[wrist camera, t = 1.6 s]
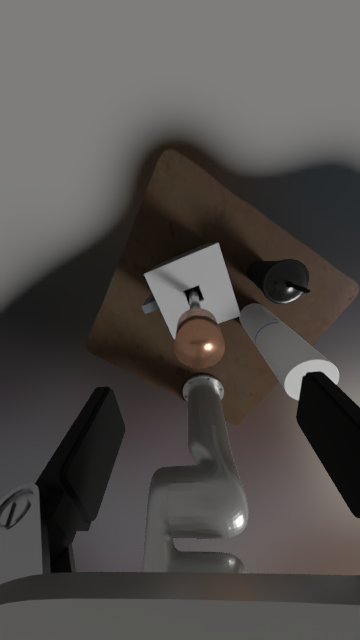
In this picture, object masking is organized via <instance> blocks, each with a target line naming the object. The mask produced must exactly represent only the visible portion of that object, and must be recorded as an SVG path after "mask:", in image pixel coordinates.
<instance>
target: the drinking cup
mask: <svg viewBox="0 0 360 640" xmlns="http://www.w3.org/2000/svg"><path fill="white" fill-rule="evenodd" d="M248 276H249V278H250V279H251V280H252V281H253V282H254V283H255V284H256V285H257V286H258V287H259V288H260V290H261V291H262V292H263V293H264V295H265V297H266V298H267V299H268V300H270V301H271V302H274V303H277V304H286V303H290V302H292V301H294V300H296V299H297V298H299V297H300V296H301V295H302V294H303V293H306V294H308V293H310V289H307V286H308V282H309V273H308V270H307V268H306V266H305V265H304V264H303V263H302V262H300V261H298V260H294V259H285V260H281V261H258V262H255V263H253V264H252V265H251V266H250V268H249V270H248Z"/></svg>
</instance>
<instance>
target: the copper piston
mask: <svg viewBox="0 0 360 640" xmlns="http://www.w3.org/2000/svg"><path fill="white" fill-rule="evenodd" d="M184 292H185V295H186V297H187V300H188V302H189V303H190V310H187V311H186V312H184V313H183V314H182V315H181V317H180V318H179V320H178V323H177V330H176V338H175V346H174V348H175V353H176V356H177V357H178V359H179V360H180V361H181V362H182V363H183V364H185V365H186V366H188V367H191V368H197V369H202V368H207V367H210V366H212V365H214V364H216V363H217V362H218V361H219V360H220V359H221V357H222V356H223V354H224V350H225V342H224V339H223V336H222V334H221V331H220V328H219V326H218V323H217V320H216V318H215V316H214V315H213V314H212V313H211V312H209V311H208V310H206V309H202V308H201V307H200V302H199V300H200V299H203V295H202V293H201V290H200V287H199V285H198V286H195V287H193V288H190V289H187V290H185V291H184Z"/></svg>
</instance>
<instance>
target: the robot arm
mask: <svg viewBox="0 0 360 640" xmlns="http://www.w3.org/2000/svg"><path fill="white" fill-rule="evenodd" d="M223 395H224V389H223V386H222V384H221V382H220V381H219V380H218V379H217V378H215V377H213V376H210V375H205V374H202V375H196V376H193V377H191V378H190V379H188V380H187V381H186V383H185V384H184V386H183V397H184V399H185V400H186V402H188V448H189V452H190V454H191V456H192V458H193V460H194V461H195V462H196V464H197V465H186V466H166V467H161V468H159V469H157V470H156V471H155V472H154V474H153V476H152V478H151V482H150V487H149V494H148V504H147V517H146V531H145V543H144V555H143V568H142V572H76V567H75V560H74V554H73V547H72V542H73V539H74V537H75V534H76V531H88V530H89V527H90V524H91V521H93V520H95V518H96V517H97V514H98V511H99V508H100V505H101V502H102V499H103V496H104V493H105V490H106V487H107V484H108V481H109V478H110V475H111V472H112V469H113V466H114V463H115V460H116V457H117V454H118V451H119V448H120V445H121V442H122V439H123V436H124V433H125V425H124V422H123V419H122V416H121V413H120V410H119V407H118V404H117V401H116V398H115V395H114V392H113V390H112V389H110V388H109V387H97V388H96V389H95V390H94V392H93V393H92V395H91V396H90V398H89V400H88V401H87V403H86V404H85V406H84V407H83V409H82V411H81V412H80V414H79V416H78V417H77V419H76V420H75V421H74V423H73V425H72V426H71V428H70V429H69V431H68V432H67V434H66V436H65V437H64V439H63V440H62V442H61V444H60V445H59V447H58V448H57V450H56V451H55V453H54V455H53V456H52V458H51V459H50V461H49V462H48V464H47V466H46V467H45V469H44V470H43V472H42V474H41V475H40V477H39V478H38V480H37V481H36V483H35V484H32V483H28V484H24V485H21V486H20V487H17V488H16V489H14V490H13V491H11V492H10V493H9V494H7V495H6V496H5V497H4V498H3V499H2V500H1V501H0V640H360V576H359V575H310V574H309V575H307V574H254V573H253V574H252V573H247V570H246V568H245V566H244V564H243V562H242V561H241V560H240V559H239V558H238V557H237V556H235V555H233V554H230V553H223V552H195V551H194V552H193V551H191V552H190V551H178V550H177V549H176V548H175V545H174V542H173V538H197V539H222V538H230V537H233V536H236V535H238V534H240V533H241V532H242V531H243V530H244V528H245V527H246V525H247V522H248V504H247V500H246V495H245V492H244V489H243V486H242V483H241V480H240V478H239V475H238V472H237V469H236V466H235V463H234V460H233V456H232V452H231V448H230V443H229V438H228V434H227V429H226V424H225V419H224V414H223V409H222V405H221V399H222V398H223ZM296 418H297V422H298V424H299V426H300V428H301V429H302V431H303V433H304V434H305V436H306V438H307V439H308V441H309V443H310V444H311V446H312V448H313V449H314V451H315V453H316V454H317V456H318V458H319V459H320V461H321V463H322V464H323V466H324V468H325V469H326V471H327V472H328V474H329V476H330V477H331V479H332V481H333V482H334V484H335V486H336V487H337V489H338V491H339V492H340V494H341V495H342V497H343V499H344V501H345V502H346V504H347V506H348V507H349V509H350V510H351V512H352V513H353V515H354V516H355V517H357V518H360V408H359V406H357V405H356V404H355V403H354V402H353V401H352V400H351V399H350V398H349V397H348V396H347V395H346V394H345V393H344V392H343V391H342V390H341V389H340V388H339V387H338V386H337V385H336V384H335V383H334V382H333V381H332V380H331V379H330V378H328V377H327V376H326V375H325V374H324V373H323V372H321V371H317V372H307V373H306V375H305V376H303V377H302V383H301V390H300V396H299V403H298V409H297V416H296Z"/></svg>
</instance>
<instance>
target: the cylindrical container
mask: <svg viewBox="0 0 360 640" xmlns="http://www.w3.org/2000/svg"><path fill="white" fill-rule="evenodd" d="M240 315H241V316H239V320H240V323H241V324H242V326H243V327H244V329H245V330H246V332H247V334H248V335H249V337H250V338H251V340H252V341H253V343H254V344H255V346H256V347H257V349H258V350H259V352H260V353H261V355H262V356H263V358H264V359H265V361H266V362H267V364H268V365H269V367H270V368H271V370H272V371H273V373H274V374H275V376H276V377H277V379H278V380H279V382H280V383H281V385H282V386H283V388H284V389H285V391H286V392H287V394H288V395H289V396H290V397H292V398H294V399H296V400H299V396H300V390H301V383H302V377H303V376H305V375H306V373H307V372H317V371H321V372H323V373H324V374H325V375H326V376H327V377H328V378H330V379H331V380H332V381H333V382H334V383H335V384H336V385H337V383H338V380H339V372H338V369H337V367H336V366H335V365H334V364H332V363H331V362H330V361H329V360H328V359H327V358H325V357H324V356H323V355H322V354H321V353H319V352H318V351H317V350H316V349H314V348H313V347H312V346H311V345H310V344H308V343H307V342H306V341H305V340H304V339H302V338H301V337H300V336H299V335H298V334H296V333H295V332H294V331H293V330H292V329H290V328H289V327H288V326H287V325H286V324H284V323H283V322H282V321H281V320H280V319H278V318H277V317H276V316H275V315H273V314H272V313H271V312H270V311H269V310H267V309H266V308H265V307H264V306H262V305H261V304H258V303H252V304H249V305H247V306H245V307H244V308H243V309H242V311H241V312H240Z"/></svg>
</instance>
